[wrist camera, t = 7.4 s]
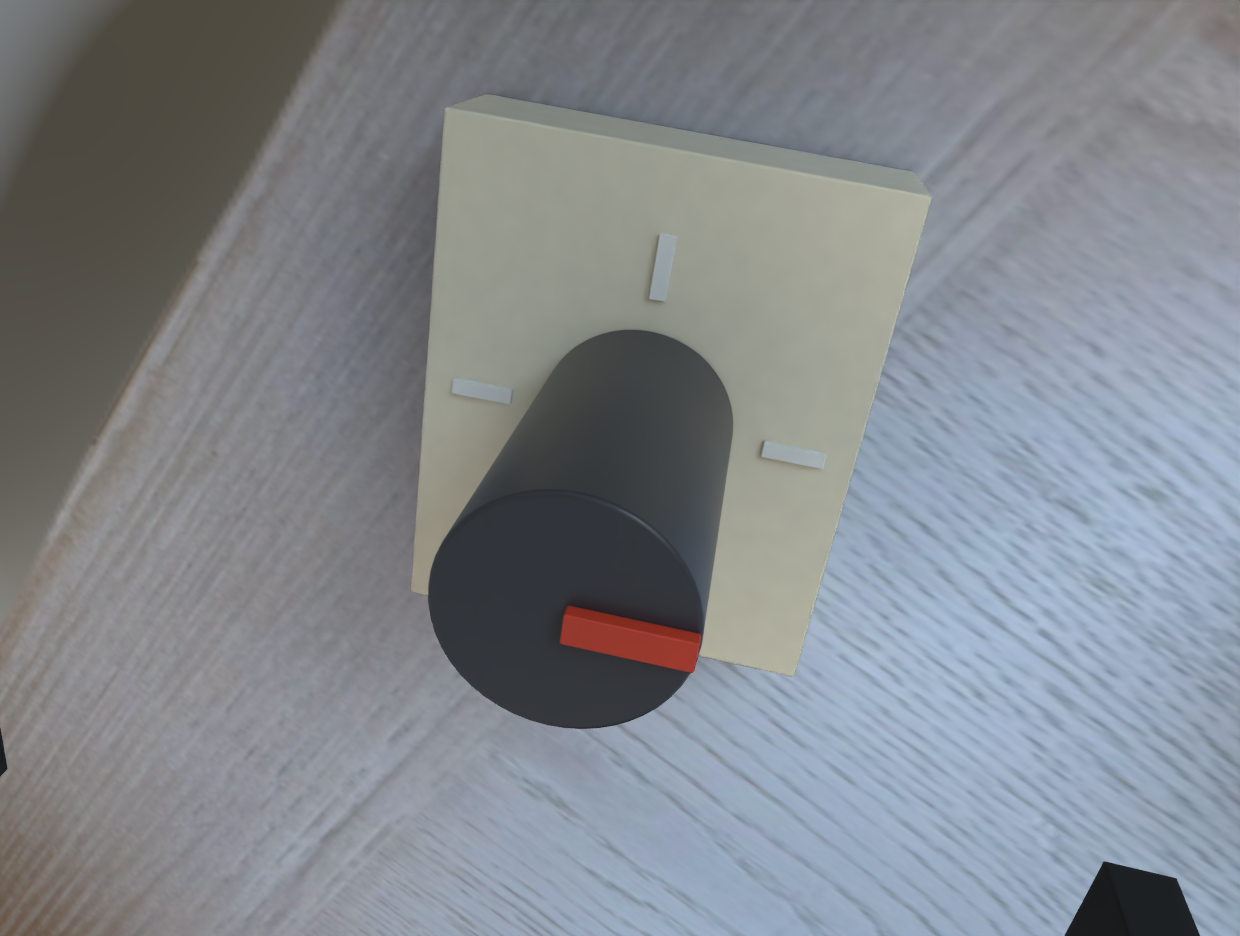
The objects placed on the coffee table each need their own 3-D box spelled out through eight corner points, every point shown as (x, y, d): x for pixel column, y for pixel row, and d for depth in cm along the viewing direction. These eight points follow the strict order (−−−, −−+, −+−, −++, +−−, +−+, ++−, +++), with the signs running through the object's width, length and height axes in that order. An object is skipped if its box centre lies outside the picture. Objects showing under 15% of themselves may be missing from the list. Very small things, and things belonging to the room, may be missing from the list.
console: (484, 92, 23) (441, 107, 20) (916, 171, 22) (933, 198, 20) (446, 536, 29) (407, 595, 26) (794, 612, 28) (794, 682, 25)
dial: (531, 486, 24) (412, 709, 16) (553, 311, 22) (428, 472, 15) (713, 525, 24) (674, 769, 16) (751, 349, 22) (727, 535, 14)
